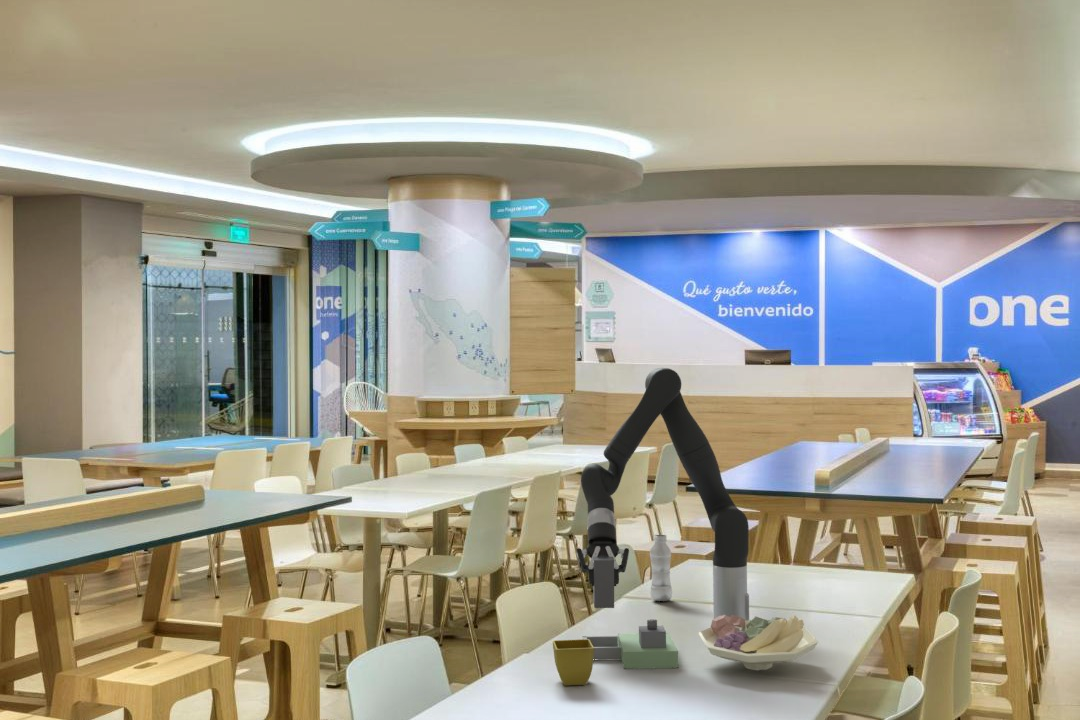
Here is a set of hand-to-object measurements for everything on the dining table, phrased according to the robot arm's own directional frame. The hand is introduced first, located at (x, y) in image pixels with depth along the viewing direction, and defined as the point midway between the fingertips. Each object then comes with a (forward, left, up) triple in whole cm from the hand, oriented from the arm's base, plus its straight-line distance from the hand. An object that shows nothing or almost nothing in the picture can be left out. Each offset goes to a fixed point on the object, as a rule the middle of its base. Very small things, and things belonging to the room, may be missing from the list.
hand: (604, 584), depth 284 cm
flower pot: (+9, +25, -18) cm, 32 cm away
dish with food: (-36, +14, -18) cm, 42 cm away
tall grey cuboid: (0, -2, -6) cm, 6 cm away
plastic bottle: (-21, -60, -18) cm, 66 cm away
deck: (-6, +4, -17) cm, 19 cm away
